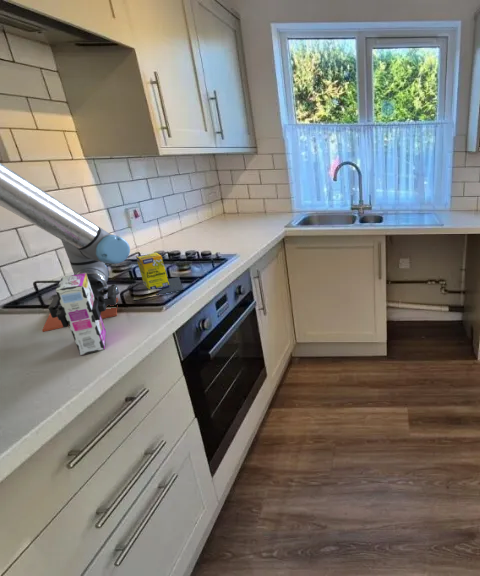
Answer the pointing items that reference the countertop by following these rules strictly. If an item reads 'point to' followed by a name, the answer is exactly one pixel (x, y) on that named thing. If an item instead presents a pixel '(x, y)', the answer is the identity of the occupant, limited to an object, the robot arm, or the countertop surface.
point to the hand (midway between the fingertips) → (79, 318)
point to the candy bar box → (81, 313)
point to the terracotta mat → (56, 324)
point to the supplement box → (153, 271)
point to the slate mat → (172, 286)
